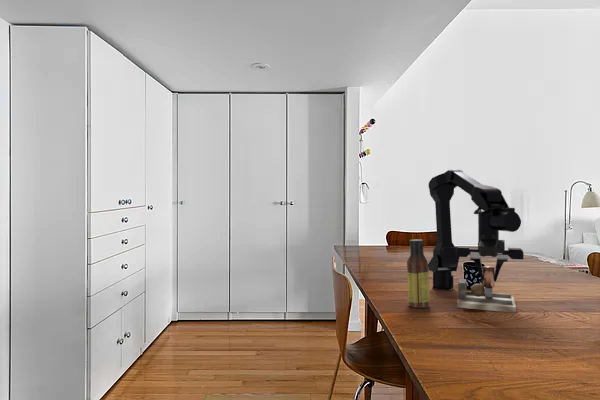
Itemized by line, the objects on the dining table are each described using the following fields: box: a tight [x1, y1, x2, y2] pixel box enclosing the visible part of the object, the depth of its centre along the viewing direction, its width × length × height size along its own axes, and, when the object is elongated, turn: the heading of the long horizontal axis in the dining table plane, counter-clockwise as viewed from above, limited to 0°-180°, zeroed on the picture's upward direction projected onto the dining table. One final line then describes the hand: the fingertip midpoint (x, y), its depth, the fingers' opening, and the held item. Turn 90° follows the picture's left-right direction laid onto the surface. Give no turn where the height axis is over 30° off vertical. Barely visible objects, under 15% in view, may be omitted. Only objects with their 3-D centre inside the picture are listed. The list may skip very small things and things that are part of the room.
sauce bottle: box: [406, 238, 431, 309], centre depth 132 cm, size 6×6×20 cm
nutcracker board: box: [456, 278, 517, 314], centre depth 135 cm, size 16×16×6 cm
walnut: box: [470, 283, 485, 297], centre depth 136 cm, size 4×4×4 cm
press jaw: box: [482, 265, 496, 299], centre depth 135 cm, size 3×6×10 cm, turn 157°
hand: (488, 281), depth 135 cm, fingers closed on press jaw, 3 cm apart
